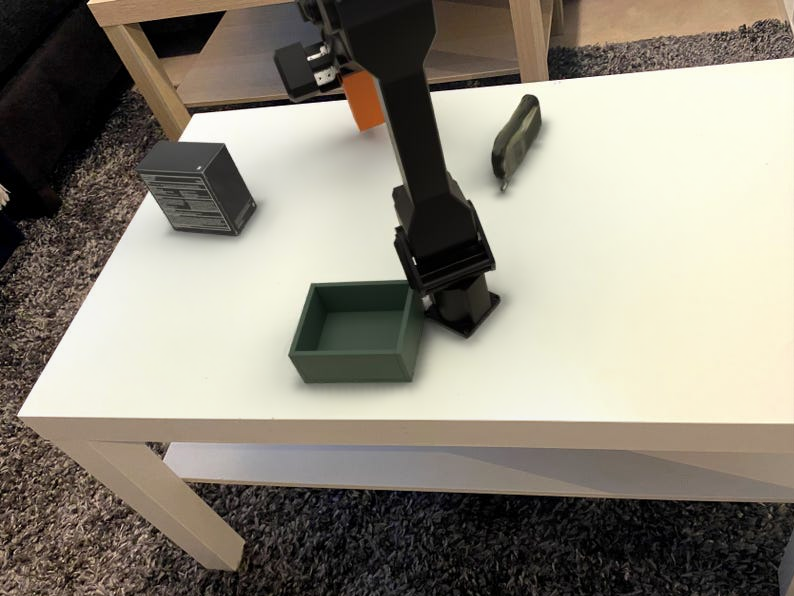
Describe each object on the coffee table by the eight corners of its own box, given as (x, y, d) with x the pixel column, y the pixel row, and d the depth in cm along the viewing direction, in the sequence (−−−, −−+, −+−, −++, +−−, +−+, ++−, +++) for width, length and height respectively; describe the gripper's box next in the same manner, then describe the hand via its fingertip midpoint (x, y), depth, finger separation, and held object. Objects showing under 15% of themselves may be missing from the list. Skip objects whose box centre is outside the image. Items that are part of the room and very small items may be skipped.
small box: (260, 203, 100) (227, 140, 92) (238, 237, 97) (202, 173, 89) (195, 199, 103) (157, 137, 95) (172, 231, 100) (131, 169, 92)
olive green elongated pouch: (521, 90, 98) (481, 158, 90) (542, 91, 97) (504, 161, 89) (524, 122, 102) (487, 191, 94) (545, 124, 101) (509, 193, 93)
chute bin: (426, 308, 84) (415, 278, 80) (412, 382, 78) (400, 353, 74) (325, 311, 86) (310, 282, 82) (304, 383, 80) (287, 355, 76)
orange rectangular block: (386, 122, 103) (357, 27, 92) (360, 132, 103) (327, 38, 92) (379, 108, 106) (349, 14, 95) (353, 117, 106) (320, 24, 95)
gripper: (397, -64, 85) (394, -7, 100) (244, -11, 83) (265, 39, 98) (433, 30, 86) (425, 72, 101) (283, 85, 84) (298, 118, 100)
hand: (353, 73), depth 100 cm, fingers closed on orange rectangular block, 4 cm apart
